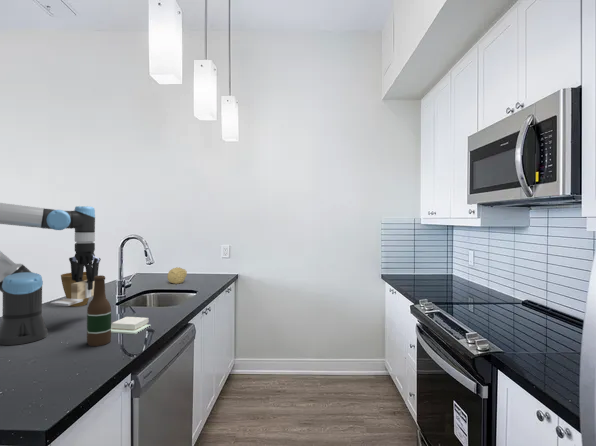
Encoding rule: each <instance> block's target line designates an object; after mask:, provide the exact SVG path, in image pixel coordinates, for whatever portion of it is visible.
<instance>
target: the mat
mask: <svg viewBox="0 0 596 446" xmlns="http://www.w3.org/2000/svg"><path fill="white" fill-rule="evenodd" d="M149 326H150V327H152V325H151V324H148V323H147V324H146V325H144V326H142V327H140V328H138V329H136V330H124V329H113V328H111V334H128V335H137V334H139V333H141V332H142V330H143V331H145V330H146V329H148V328H150V327H149ZM147 327H148V328H147ZM145 328H146V329H145ZM144 329H145V330H144ZM140 331H141V332H140ZM138 332H139V333H138Z"/></svg>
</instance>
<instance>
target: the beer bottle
mask: <svg viewBox="0 0 596 446" xmlns="http://www.w3.org/2000/svg"><path fill="white" fill-rule="evenodd" d="M94 280H95V283H94V295H93V296H92V299H91V301H90V302H89V304H88V306H87V311H86V343H87V345H88V347H100V346H106V345H107V344H110V342H111V340H112V333H111V323H112V306H111V304H110V301H109V300H108V299H107V294H106V286H105V285H106V282H105V280H106V276H104V275H103V274H102V275H101V274H100V275H98V276H95V277H94Z"/></svg>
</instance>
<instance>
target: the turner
mask: <svg viewBox="0 0 596 446" xmlns="http://www.w3.org/2000/svg"><path fill="white" fill-rule="evenodd" d="M86 281H87V280H85V281H81V282H77V283H72V284H71V299H67V298H66V297H65V298H63V299H58V300H55V301H52V302H51V301H50V303H49V305H50V306H65V307H66V306H67V307H68V306H70V305H73V304H76V303H79V302H82V301H83V299H85V283H86ZM94 283H95V281H93V289H92V290H91V297H90V298H93V295H94Z"/></svg>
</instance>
